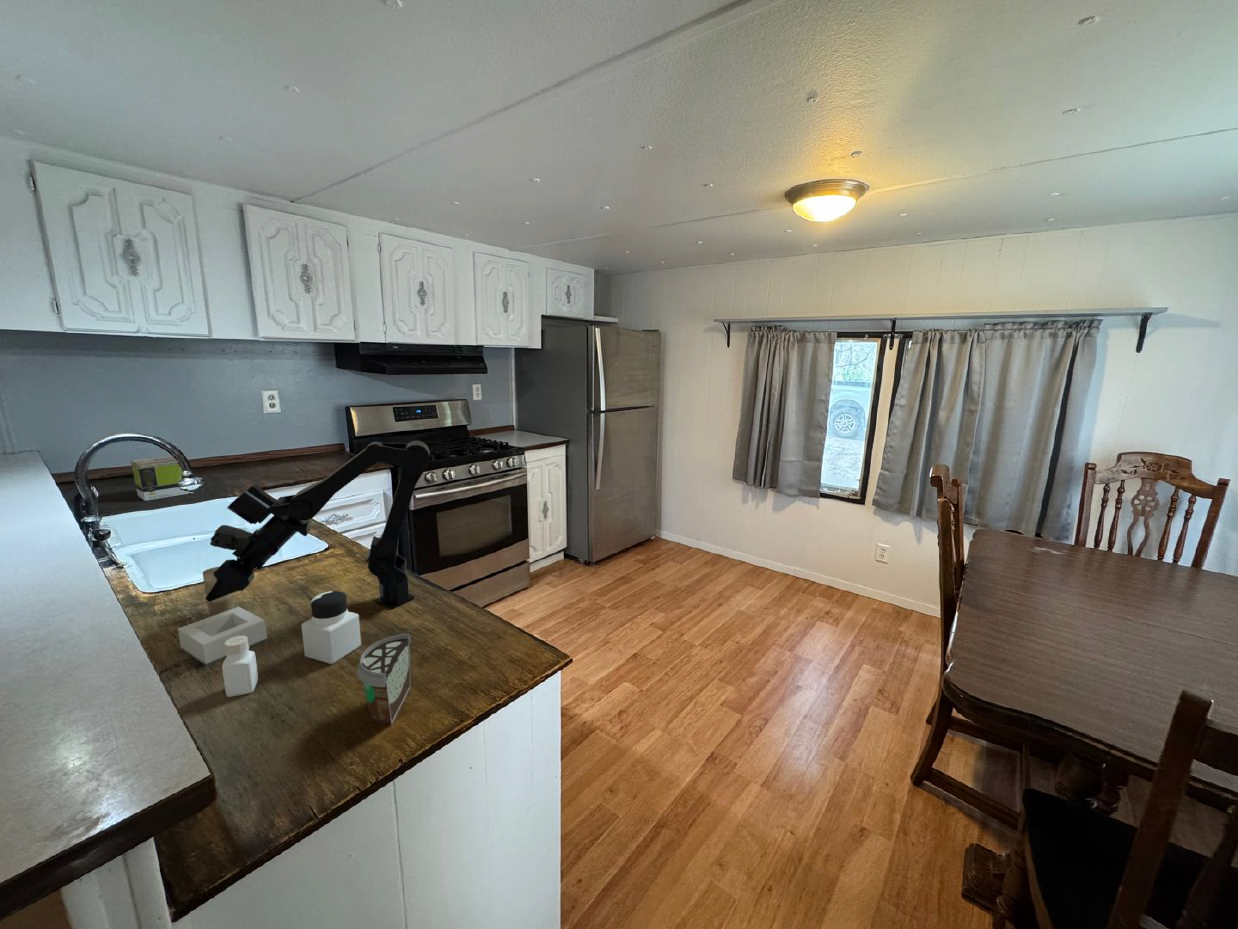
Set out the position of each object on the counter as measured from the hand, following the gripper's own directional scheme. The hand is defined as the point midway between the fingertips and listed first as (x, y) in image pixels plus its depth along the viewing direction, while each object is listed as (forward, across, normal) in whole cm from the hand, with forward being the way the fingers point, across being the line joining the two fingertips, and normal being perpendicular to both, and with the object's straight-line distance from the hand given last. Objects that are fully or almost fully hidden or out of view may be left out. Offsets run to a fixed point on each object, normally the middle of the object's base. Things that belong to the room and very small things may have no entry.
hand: (216, 590), depth 106 cm
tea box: (+44, -118, -33) cm, 131 cm away
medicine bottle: (-12, +19, +23) cm, 32 cm away
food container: (-19, +39, +30) cm, 53 cm away
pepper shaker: (-3, +27, +14) cm, 31 cm away
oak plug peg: (+5, 0, +6) cm, 8 cm away
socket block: (+3, +10, +8) cm, 13 cm away
